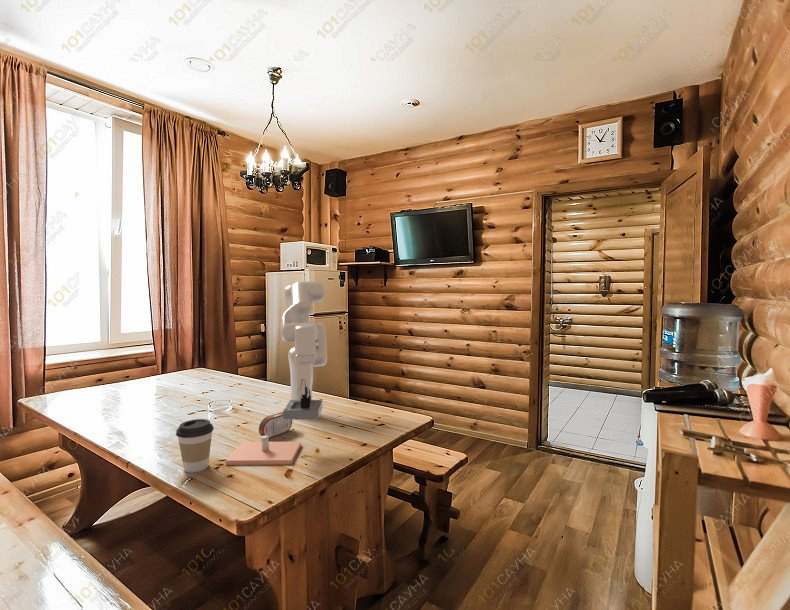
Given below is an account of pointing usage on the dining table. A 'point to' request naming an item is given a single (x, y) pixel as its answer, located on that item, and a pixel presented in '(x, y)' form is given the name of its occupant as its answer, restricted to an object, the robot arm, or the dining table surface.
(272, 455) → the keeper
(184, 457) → the coffee cup
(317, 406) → the grey square frame
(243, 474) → the dining table surface
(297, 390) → the robot arm
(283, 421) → the tin
